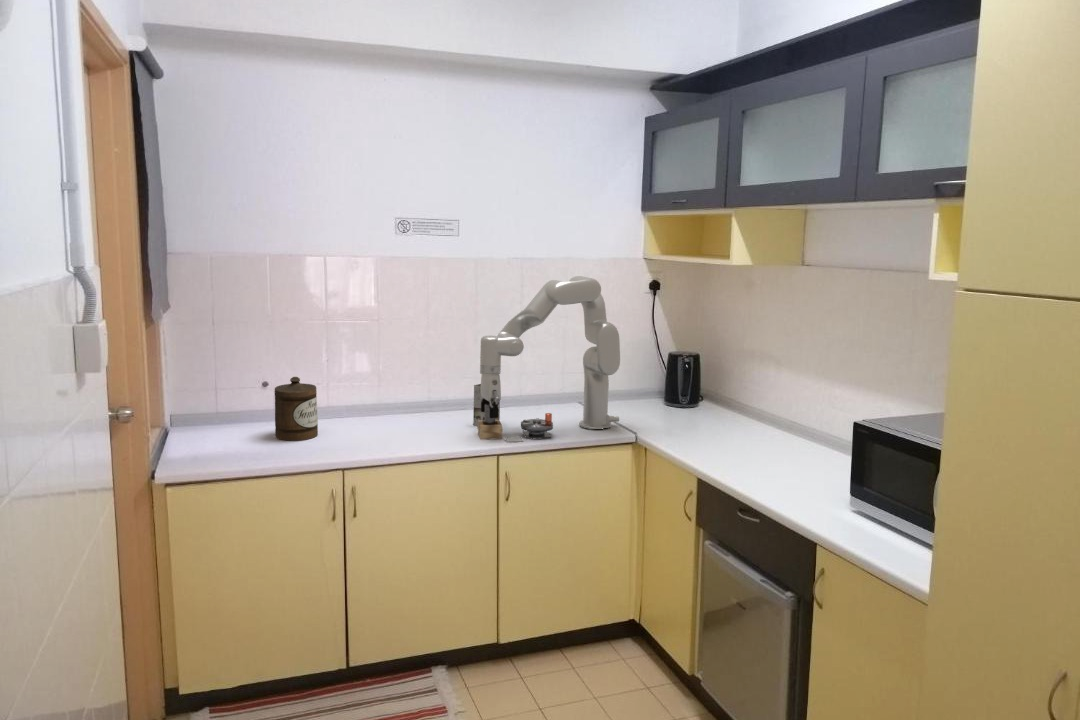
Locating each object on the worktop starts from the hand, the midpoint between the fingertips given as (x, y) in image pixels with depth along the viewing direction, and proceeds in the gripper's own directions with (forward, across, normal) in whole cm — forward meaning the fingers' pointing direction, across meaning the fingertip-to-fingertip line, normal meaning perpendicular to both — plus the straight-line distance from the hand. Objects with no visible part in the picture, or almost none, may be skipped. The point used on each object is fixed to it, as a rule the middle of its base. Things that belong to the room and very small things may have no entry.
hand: (489, 414), depth 291 cm
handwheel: (+5, -5, -17) cm, 19 cm away
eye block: (+8, 0, 0) cm, 8 cm away
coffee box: (+8, +16, -5) cm, 19 cm away
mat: (+8, -8, -7) cm, 13 cm away
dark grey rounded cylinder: (+8, 0, 0) cm, 8 cm away
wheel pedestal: (+8, -5, -17) cm, 20 cm away
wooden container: (+9, +23, +66) cm, 71 cm away
